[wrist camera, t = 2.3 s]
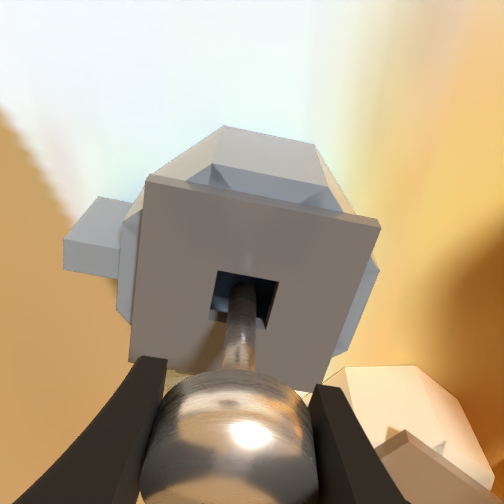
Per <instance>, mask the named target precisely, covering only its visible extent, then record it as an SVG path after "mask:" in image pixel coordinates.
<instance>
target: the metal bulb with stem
mask: <svg viewBox="0 0 504 504" xmlns="http://www.w3.org/2000/svg"><path fill="white" fill-rule="evenodd" d="M256 300H257V291H256V288H255V287H254V285H252V284H251V283H249V282H245V281H241V282H237V283H235V284H234V285H233V286H232V287H231V289H230V296H229V304H228V313H227V322H226V330H225V339H224V347H223V356H222V365H221V370H213V371H208V372H204V373H200V374H197V375H194V376H192V377H189V378H187V379H185V380H183V381H182V382H180V383H178V384H177V385H176V386H174V387H173V388H172V389H171V390H170V391H169V392H168V393H167V394H166V395H165V396H164V398H163V399H162V401H161V403H160V405H159V407H158V410H157V414H156V418H155V422H154V426H153V430H152V433H151V437H150V441H149V445H148V449H147V453H146V457H145V461H144V464H143V468H142V472H141V476H140V492H141V495H142V498H143V500H144V502H145V504H316V503H317V500H318V496H319V485H318V476H317V467H316V458H315V449H314V440H313V431H312V422H311V416H310V413H309V410H308V408H307V406H306V404H305V403H304V401H303V400H302V398H301V397H300V396H299V395H298V394H297V393H296V392H295V391H294V390H292V389H291V388H290V387H289V386H287V385H286V384H284V383H282V382H281V381H279V380H277V379H274V378H272V377H270V376H267V375H264V374H261V373H257V372H255V338H256Z"/></svg>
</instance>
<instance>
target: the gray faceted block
mask: <svg viewBox="0 0 504 504" xmlns="http://www.w3.org/2000/svg"><path fill="white" fill-rule="evenodd" d="M380 230H381V226H380V224H379V222H378V220H377V219H374V218H369V217H364V216H359V215H356V214H355V212H354V210H353V209H352V207H351V205H350V204H349V202H348V200H347V199H346V197H345V195H344V194H343V192H342V190H341V189H340V187H339V185H338V184H337V182H336V180H335V179H334V177H333V175H332V174H331V172H330V170H329V169H328V167H327V165H326V164H325V162H324V160H323V159H322V157H321V155H320V154H319V152H318V150H317V149H316V147H315V145H313V144H308V143H304V142H299V141H294V140H290V139H285V138H280V137H275V136H271V135H266V134H261V133H256V132H252V131H247V130H242V129H237V128H233V127H228V126H223V127H221V128H220V129H218V130H217V131H215V132H214V133H212V134H211V135H209V136H208V137H206V138H205V139H203V140H202V141H200V142H199V143H197V144H196V145H194V146H193V147H191V148H190V149H188V150H187V151H185V152H184V153H183V154H181V155H180V156H178V157H177V158H175V159H174V160H172V161H171V162H169V163H168V164H166V165H165V166H163V167H162V168H160V169H159V170H157V171H156V172H154V173H153V174H149V176H148V177H147V179H146V181H145V186H144V188H143V189H142V191H141V193H140V194H139V196H138V197H137V199H136V200H135V202H134V203H129V202H124V201H119V200H114V199H109V198H104V197H99V196H98V198H97V199H96V200H95V201H94V202H93V204H92V205H91V206H90V207H89V209H88V210H87V211H86V212H85V213H84V215H83V216H82V217H81V218H80V219H79V221H78V222H77V223H76V224H75V225H74V227H73V228H72V229H71V230H70V232H69V233H68V234H67V235H66V236H65V238H64V239H63V247H64V248H63V256H64V257H63V263H64V264H63V269H64V270H68V271H74V272H80V273H85V274H90V275H96V276H102V277H107V278H112V279H118V290H117V304H116V310H117V311H118V312H119V313H120V314H121V315H122V316H123V317H124V318H125V320H126V321H127V322H128V323H129V324H130V325H131V326H132V327H131V337H130V348H129V359H128V362H131V363H135V362H136V360H137V358H139V357H140V356H142V355H145V356H151V357H157V358H163V359H168V363H167V369H172V370H175V371H176V372H177V373H184V374H190V375H197V374H200V373H204V372H208V371H213V370H221V365H222V356H223V347H224V339H225V330H226V322H227V313H228V304H229V296H230V289H231V287H232V286H233V285H234V284H235V283H237V282H241V281H245V282H249V283H251V284H252V285H254V287H255V288H256V291H257V300H256V338H255V372H257V373H261V374H264V375H267V376H270V377H272V378H274V379H277V380H279V381H281V382H282V383H284V384H286V385H287V386H289V387H290V388H291V389H292V390H298V391H304V392H310V393H313V391H314V388H315V385H316V384H321V383H322V381H323V378H324V376H325V373H326V370H327V368H328V365H329V363H330V360H331V358H332V357H335V356H337V355H339V354H341V353H343V352H346V351H348V348H349V345H350V343H351V340H352V338H353V336H354V333H355V331H356V328H357V326H358V323H359V321H360V318H361V316H362V313H363V311H364V308H365V306H366V303H367V301H368V298H369V296H370V293H371V291H372V288H373V286H374V284H375V281H376V279H377V276H378V274H379V271H380V270H379V268H378V266H377V263H376V261H375V258H374V256H373V254H372V251H373V248H374V246H375V243H376V240H377V238H378V235H379V233H380Z"/></svg>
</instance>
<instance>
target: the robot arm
mask: <svg viewBox="0 0 504 504" xmlns="http://www.w3.org/2000/svg"><path fill="white" fill-rule="evenodd" d="M167 363H168V359H163V358H157V357H151V356H145V355H142V356H140V357H139V358H137V360H136V362H135V363H134V365H133V367H132V368H131V370H130V372H129V373H128V375H127V376H126V378H125V379H124V381H123V382H122V383H121V385H120V386H119V388H118V389H117V390H116V392H115V393H114V394H113V396H112V397H111V398H110V400H109V401H108V402H107V403H106V405H105V406H104V407H103V408H102V410H101V411H100V412H99V413H98V415H97V416H96V417H95V418H94V419H93V421H92V422H91V423H90V424H89V425H88V427H87V428H86V429H85V430H84V431H83V432H82V433H81V435H80V436H79V437H78V438H77V439H76V440H75V441H74V442H73V443H72V444H71V446H70V447H69V448H68V449H67V450H66V451H65V452H64V453H63V454H62V456H61V457H60V458H59V459H58V460H57V461H56V462H55V463H54V464H53V465H52V466H51V467H50V468H49V469H48V470H47V471H46V472H45V473H44V474H43V475H42V476H41V477H40V478H39V479H38V480H37V481H36V482H35V483H34V484H33V485H32V486H31V487H30V488H29V489H28V490H26V492H24V493H23V494H22V495H21V496H20V497H19V498H18V499H17V500H16V501H15V502H14V503H12V504H136V501H137V498H138V495H139V492H140V476H141V472H142V468H143V464H144V461H145V457H146V453H147V449H148V445H149V441H150V437H151V433H152V430H153V426H154V422H155V418H156V414H157V410H158V407H159V405H160V403H161V401H162V398H163V391H164V384H165V377H166V370H167ZM307 408H308V410H309V413H310V416H311V422H312V431H313V440H314V449H315V458H316V467H317V476H318V485H319V496H318V500H317V503H316V504H408V503H407V501H406V500H405V498H404V497H403V495H402V494H401V492H400V490H399V489H398V487H397V486H396V484H395V483H394V481H393V479H392V478H391V476H390V475H389V473H388V471H387V470H386V468H385V466H384V465H383V463H382V461H381V460H380V458H379V456H378V454H377V453H376V451H375V449H374V448H373V446H372V444H371V442H370V441H369V439H368V437H367V435H366V434H365V432H364V430H363V428H362V426H361V424H360V423H359V421H358V419H357V417H356V415H355V413H354V411H353V410H352V408H351V406H350V404H349V402H348V400H347V398H346V396H345V394H344V392H343V391H342V389H341V388H340V387H334V386H328V385H322V384H316V385H315V388H314V391H313V394H312V396H311V399H310V402H309V405H308V407H307Z"/></svg>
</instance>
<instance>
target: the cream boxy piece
mask: <svg viewBox="0 0 504 504" xmlns="http://www.w3.org/2000/svg"><path fill="white" fill-rule="evenodd" d="M322 385H328V386H334V387H340V388H341V389H342V391H343V392H344V394H345V396H346V398H347V400H348V402H349V404H350V406H351V408H352V410H353V411H354V413H355V415H356V417H357V419H358V421H359V423H360V424H361V426H362V428H363V430H364V432H365V434H366V435H367V437H368V439H369V441H370V442H371V444H372V446H373V448H374V449H375V451H376V453H377V454H378V456H379V458H380V460H381V461H382V463H383V465H384V466H385V468H386V470H387V471H388V473H389V475H390V476H391V478H392V479H393V481H394V483H395V484H396V486H397V487H398V489H399V490H400V492H401V494H402V495H403V497H404V498H405V500H406V501H407V503H408V504H504V501H503V500H502V499H501V498H499V497H498V496H496V495H495V494H494V493H492V492H491V489H492V485H493V482H494V479H495V476H494V474H493V472H492V469H491V467H490V465H489V463H488V461H487V459H486V457H485V455H484V453H483V451H482V449H481V446H480V444H479V442H478V440H477V438H476V436H475V434H474V432H473V430H472V428H471V426H470V424H469V421H468V419H467V417H466V415H465V413H464V411H463V409H462V407H461V405H460V403H459V401H458V399H457V398H455V397H454V396H453V395H452V394H450V393H449V392H448V391H447V390H445V389H444V388H443V387H442V386H440V385H439V384H438V383H437V382H435V381H434V380H433V379H432V378H430V377H429V376H428V375H427V374H425V373H424V372H423V371H422V370H420V369H419V368H418V367H417V366H416V365H408V366H372V367H344V368H343V369H342V370H340V371H339V372H338V373H336V374H335V375H334V376H332V377H331V378H330V379H328V380H327V381H325V382H324V383H323V384H322ZM312 394H313V393H309V394H308V395H307V396H305V397H304V398H303V399H302V400H303V401H304V403H305V404H306V406H307V407H308V405H309V402H310V399H311V396H312Z"/></svg>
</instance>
